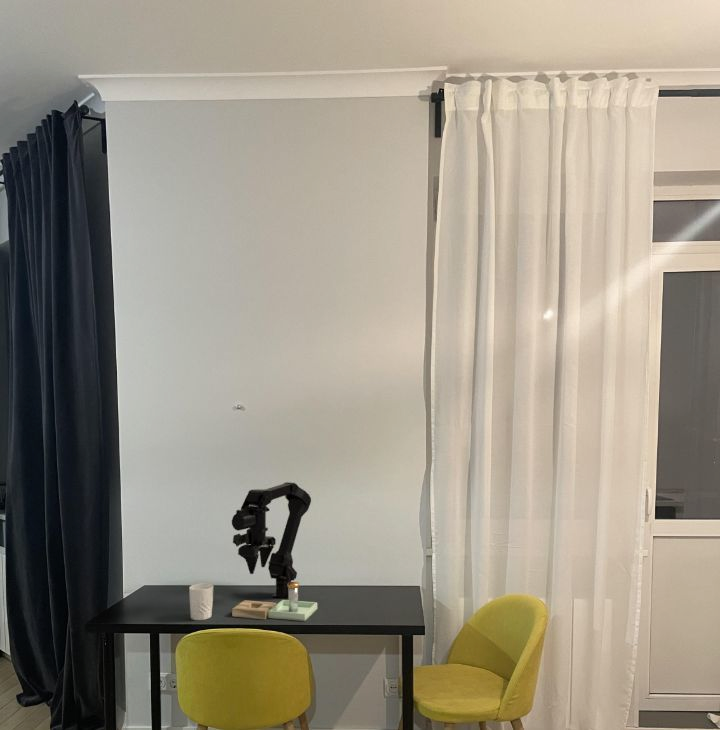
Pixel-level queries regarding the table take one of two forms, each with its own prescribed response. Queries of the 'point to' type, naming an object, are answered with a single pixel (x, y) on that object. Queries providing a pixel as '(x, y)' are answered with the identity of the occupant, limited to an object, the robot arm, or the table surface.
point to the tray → (283, 612)
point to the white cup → (201, 601)
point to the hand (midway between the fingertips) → (257, 570)
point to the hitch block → (252, 609)
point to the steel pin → (293, 596)
